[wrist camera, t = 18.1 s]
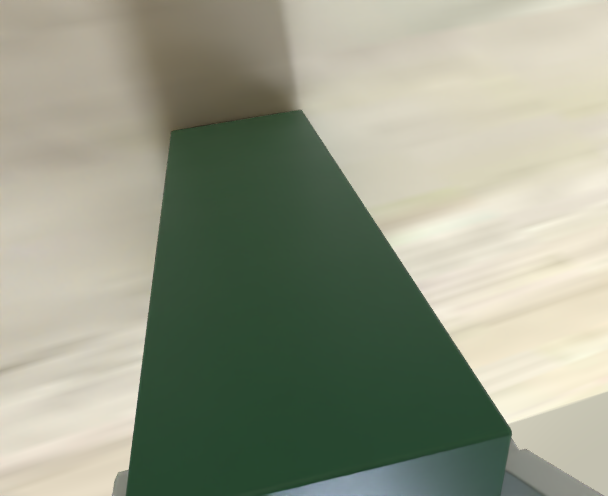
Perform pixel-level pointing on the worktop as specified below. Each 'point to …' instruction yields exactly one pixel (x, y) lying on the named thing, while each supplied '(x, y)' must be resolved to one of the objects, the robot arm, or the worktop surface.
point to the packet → (295, 338)
